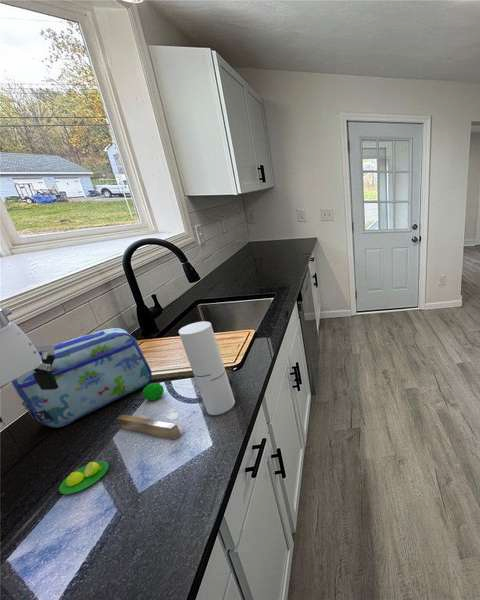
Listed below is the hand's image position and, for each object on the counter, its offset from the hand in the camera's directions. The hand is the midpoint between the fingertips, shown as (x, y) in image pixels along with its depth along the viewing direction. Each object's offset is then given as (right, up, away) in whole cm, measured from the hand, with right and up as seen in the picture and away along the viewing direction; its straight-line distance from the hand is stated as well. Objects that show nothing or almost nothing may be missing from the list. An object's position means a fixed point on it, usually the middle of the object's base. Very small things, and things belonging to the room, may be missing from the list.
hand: (23, 404), depth 61 cm
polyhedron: (0, -9, +33) cm, 34 cm away
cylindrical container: (+22, -10, +28) cm, 37 cm away
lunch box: (-16, -10, +32) cm, 38 cm away
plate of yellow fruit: (+4, -19, +8) cm, 21 cm away
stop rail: (+9, -14, +20) cm, 26 cm away
